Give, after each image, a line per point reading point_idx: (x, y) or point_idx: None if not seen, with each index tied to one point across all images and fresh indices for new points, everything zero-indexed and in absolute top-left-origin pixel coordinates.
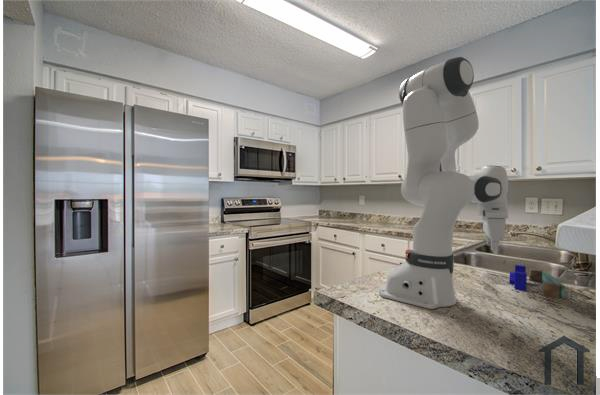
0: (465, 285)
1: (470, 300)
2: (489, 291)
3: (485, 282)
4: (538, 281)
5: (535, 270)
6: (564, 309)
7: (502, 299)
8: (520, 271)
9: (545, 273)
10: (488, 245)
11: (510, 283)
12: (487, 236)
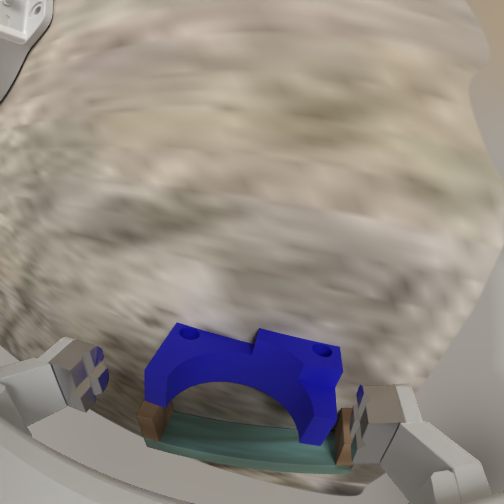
0: (122, 120)
1: (2, 147)
2: (94, 215)
3: (221, 220)
4: (336, 426)
5: (341, 454)
6: None
7: (46, 243)
8: (300, 409)
9: (301, 466)
10: (361, 388)
11: (258, 332)
12: (440, 470)
